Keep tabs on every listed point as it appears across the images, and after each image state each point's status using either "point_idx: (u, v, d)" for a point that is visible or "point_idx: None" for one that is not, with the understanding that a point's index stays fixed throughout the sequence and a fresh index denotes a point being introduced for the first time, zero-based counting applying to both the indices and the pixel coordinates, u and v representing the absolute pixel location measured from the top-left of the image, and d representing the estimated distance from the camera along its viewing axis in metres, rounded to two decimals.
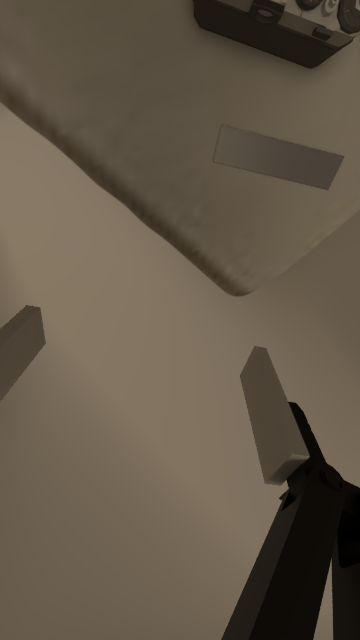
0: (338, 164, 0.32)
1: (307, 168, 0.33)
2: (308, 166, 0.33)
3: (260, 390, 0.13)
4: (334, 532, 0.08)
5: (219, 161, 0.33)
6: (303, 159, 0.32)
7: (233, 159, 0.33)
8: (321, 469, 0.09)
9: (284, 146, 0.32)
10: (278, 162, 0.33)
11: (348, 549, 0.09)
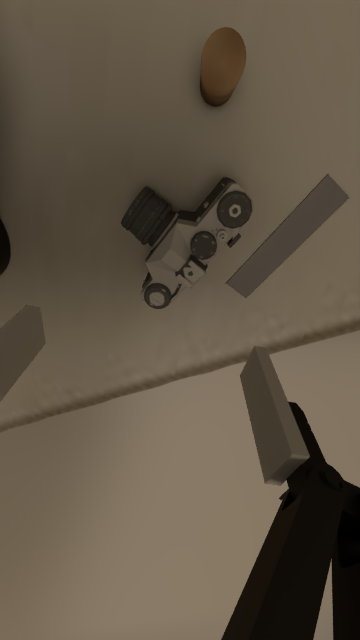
0: (331, 182, 0.28)
1: (310, 217, 0.30)
2: (309, 215, 0.30)
3: (260, 390, 0.13)
4: (334, 532, 0.08)
5: (249, 293, 0.36)
6: (298, 219, 0.30)
7: (255, 282, 0.35)
8: (321, 469, 0.09)
9: (274, 235, 0.31)
10: (284, 245, 0.32)
11: (348, 549, 0.09)
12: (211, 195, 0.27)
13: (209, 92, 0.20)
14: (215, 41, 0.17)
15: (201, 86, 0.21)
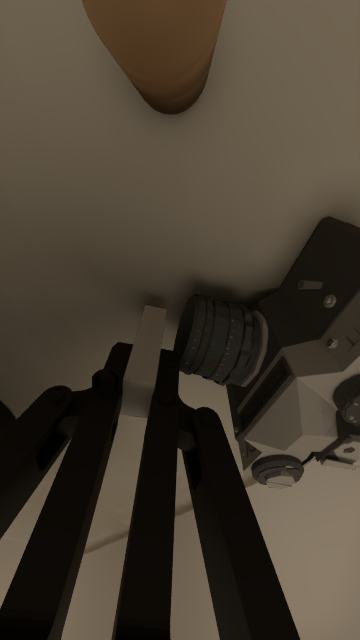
0: None
1: None
2: None
3: None
4: (176, 438, 0.09)
5: None
6: None
7: None
8: (158, 396, 0.10)
9: None
10: None
11: (197, 468, 0.10)
12: (317, 265, 0.14)
13: (157, 91, 0.07)
14: None
15: (136, 88, 0.08)
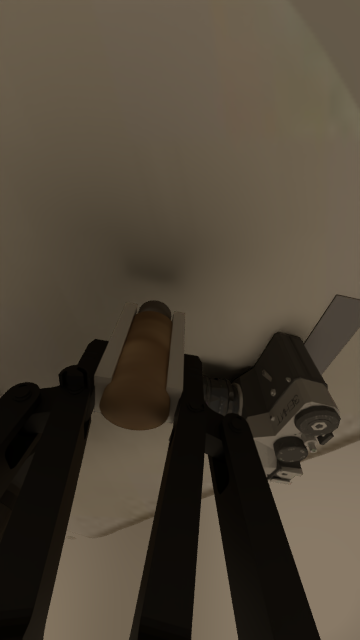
0: (345, 299, 0.22)
1: (334, 333, 0.24)
2: (332, 333, 0.24)
3: None
4: (203, 446, 0.09)
5: None
6: (320, 339, 0.25)
7: None
8: (187, 401, 0.11)
9: None
10: None
11: (222, 473, 0.10)
12: (270, 364, 0.24)
13: None
14: (110, 401, 0.11)
15: None
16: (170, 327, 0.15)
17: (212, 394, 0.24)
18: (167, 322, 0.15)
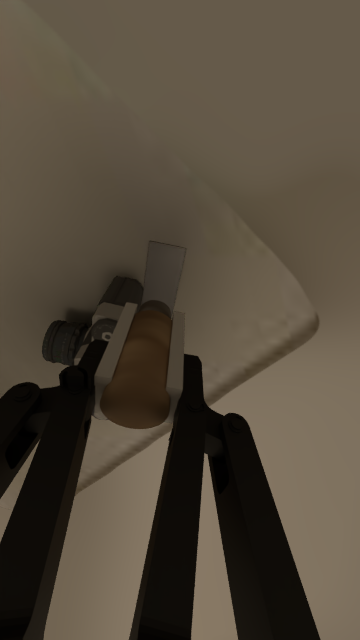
0: (158, 245, 0.26)
1: (164, 279, 0.28)
2: (162, 278, 0.28)
3: None
4: (202, 446, 0.09)
5: None
6: (155, 285, 0.29)
7: None
8: (187, 401, 0.11)
9: None
10: None
11: (222, 473, 0.10)
12: None
13: None
14: (111, 400, 0.11)
15: None
16: (170, 326, 0.15)
17: (59, 331, 0.27)
18: (167, 321, 0.15)
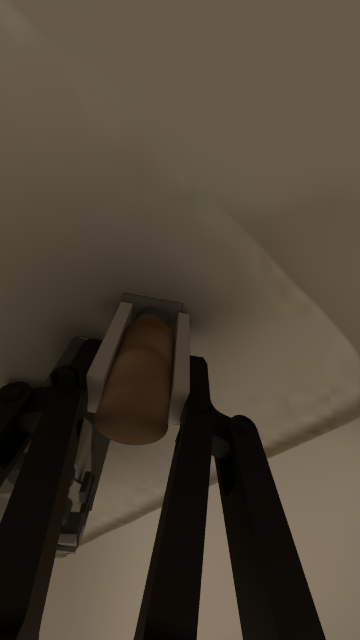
0: (137, 299, 0.16)
1: None
2: None
3: (174, 348, 0.14)
4: (209, 448, 0.09)
5: None
6: None
7: None
8: (194, 403, 0.11)
9: None
10: None
11: (229, 475, 0.10)
12: None
13: None
14: (105, 415, 0.10)
15: None
16: (169, 335, 0.14)
17: None
18: (166, 330, 0.14)
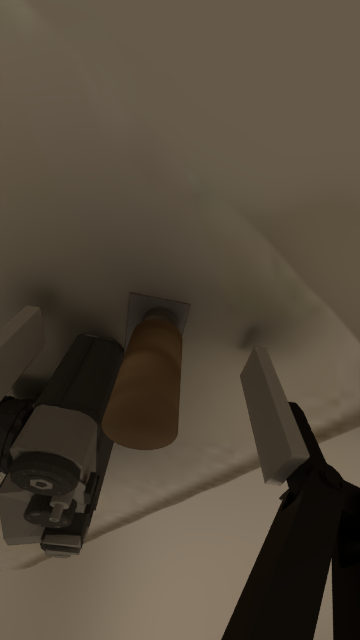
0: (144, 299, 0.16)
1: None
2: None
3: (260, 390, 0.13)
4: (334, 532, 0.08)
5: None
6: None
7: None
8: (321, 469, 0.09)
9: None
10: None
11: (348, 549, 0.09)
12: None
13: None
14: (114, 420, 0.10)
15: None
16: (177, 337, 0.14)
17: None
18: (174, 331, 0.14)
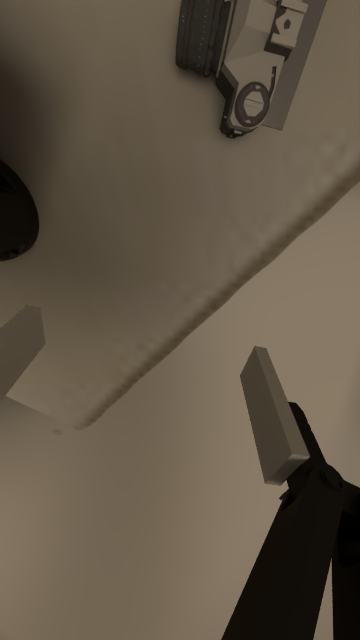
0: None
1: None
2: None
3: (260, 390, 0.13)
4: (334, 532, 0.08)
5: (283, 120, 0.29)
6: None
7: (285, 101, 0.28)
8: (321, 469, 0.09)
9: None
10: (303, 21, 0.25)
11: (348, 549, 0.09)
12: None
13: None
14: None
15: None
16: None
17: None
18: None
